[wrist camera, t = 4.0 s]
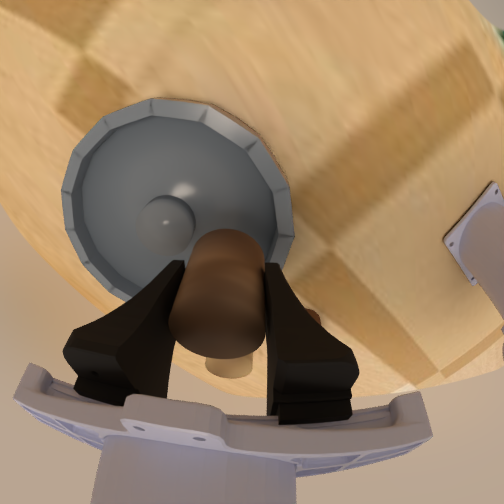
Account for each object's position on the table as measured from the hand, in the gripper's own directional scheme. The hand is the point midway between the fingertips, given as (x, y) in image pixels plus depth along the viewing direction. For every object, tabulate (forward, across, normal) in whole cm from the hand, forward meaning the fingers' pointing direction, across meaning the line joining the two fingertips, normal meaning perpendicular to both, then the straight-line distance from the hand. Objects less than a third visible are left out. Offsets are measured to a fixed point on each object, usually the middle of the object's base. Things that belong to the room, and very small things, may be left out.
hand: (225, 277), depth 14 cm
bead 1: (+1, 0, 0) cm, 1 cm away
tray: (+7, +5, 0) cm, 8 cm away
